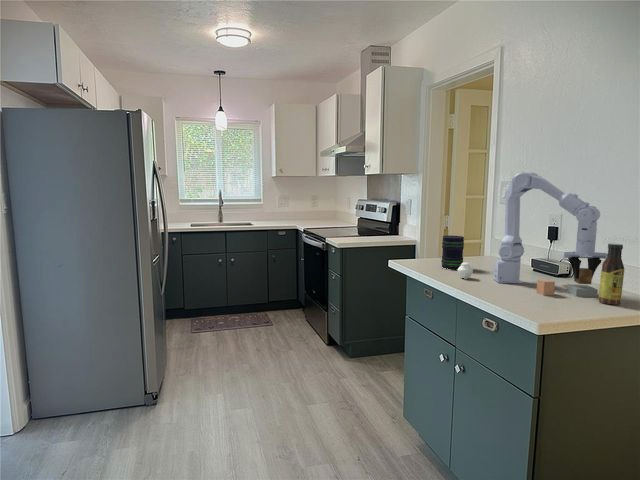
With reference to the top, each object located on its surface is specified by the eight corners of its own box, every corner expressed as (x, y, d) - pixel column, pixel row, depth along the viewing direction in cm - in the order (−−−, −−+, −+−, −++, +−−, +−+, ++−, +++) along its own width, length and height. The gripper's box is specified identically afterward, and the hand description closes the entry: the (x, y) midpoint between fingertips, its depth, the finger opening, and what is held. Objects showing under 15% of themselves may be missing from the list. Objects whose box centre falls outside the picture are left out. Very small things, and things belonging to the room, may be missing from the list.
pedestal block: (575, 297, 149) (576, 289, 148) (566, 292, 156) (567, 284, 155) (597, 297, 148) (597, 289, 148) (586, 292, 155) (587, 285, 154)
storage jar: (465, 270, 194) (467, 238, 192) (444, 270, 194) (445, 238, 192) (459, 266, 204) (460, 235, 202) (438, 266, 204) (439, 235, 202)
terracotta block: (543, 295, 150) (544, 282, 149) (536, 292, 154) (537, 279, 153) (553, 295, 150) (554, 281, 149) (546, 292, 154) (547, 279, 153)
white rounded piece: (467, 280, 173) (468, 263, 172) (454, 278, 177) (455, 261, 176) (475, 278, 177) (476, 262, 176) (462, 276, 181) (462, 260, 180)
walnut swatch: (568, 288, 159) (568, 287, 159) (562, 285, 164) (562, 284, 164) (582, 289, 159) (582, 288, 159) (576, 286, 163) (576, 285, 163)
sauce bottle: (613, 306, 136) (619, 245, 134) (593, 301, 142) (599, 243, 139) (625, 304, 139) (631, 244, 137) (605, 299, 145) (610, 242, 142)
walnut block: (579, 283, 150) (580, 270, 149) (574, 281, 153) (575, 267, 153) (591, 284, 149) (592, 270, 148) (585, 281, 153) (587, 268, 152)
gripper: (568, 241, 146) (565, 279, 148) (614, 242, 144) (610, 281, 146) (560, 238, 153) (557, 275, 155) (604, 239, 151) (600, 276, 153)
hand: (582, 278), depth 151 cm, fingers closed on walnut block, 4 cm apart
